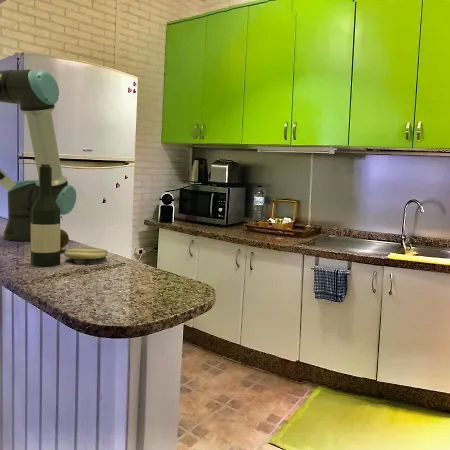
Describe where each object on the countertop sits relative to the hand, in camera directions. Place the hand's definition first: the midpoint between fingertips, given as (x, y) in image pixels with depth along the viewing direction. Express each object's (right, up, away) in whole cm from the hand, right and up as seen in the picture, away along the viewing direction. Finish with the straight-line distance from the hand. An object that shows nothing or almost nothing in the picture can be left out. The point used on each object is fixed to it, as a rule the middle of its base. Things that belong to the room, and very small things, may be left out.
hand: (10, 186), depth 131 cm
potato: (+1, -20, +30) cm, 36 cm away
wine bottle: (+7, -23, +8) cm, 25 cm away
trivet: (+17, -23, +15) cm, 32 cm away
